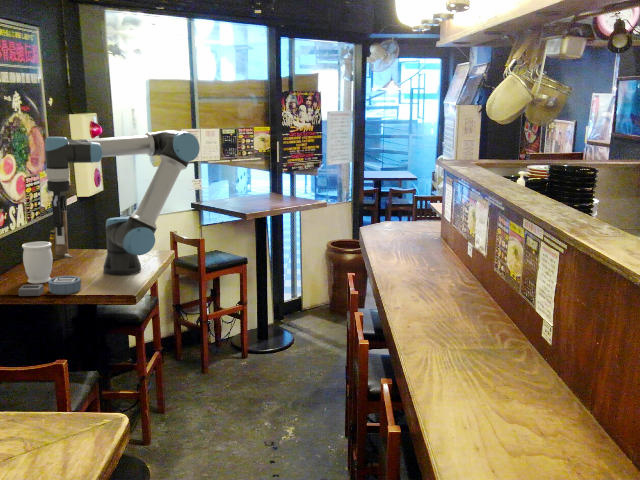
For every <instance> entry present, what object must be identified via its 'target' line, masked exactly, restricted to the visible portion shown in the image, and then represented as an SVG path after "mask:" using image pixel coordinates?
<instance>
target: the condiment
mask: <svg viewBox="0 0 640 480" xmlns="http://www.w3.org/2000/svg"><path fill="white" fill-rule="evenodd" d="M49 235H50V236H49V242H50V243H51V247H50V249H51V251H52V258H53V260H57V259H67V258H73V256H72V255H70V254H69V253H68V254H56V248H55V230H54V229H53V230H50V232H49Z"/></svg>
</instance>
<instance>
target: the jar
mask: <svg viewBox="0 0 640 480" xmlns="http://www.w3.org/2000/svg"><path fill="white" fill-rule="evenodd" d="M50 247H51V243H50V241H41V240H40V241H39V240H38V241H29V242H25V243H23V244H22V245H21V248H22V249H23V252H22V253H23V254H22V261H23V262H22V263H23V267H24V270H25V274H26V276H27V278H28V279H27V282H28V283H30V284H32V285H41V284H45V283H48V281H49V280H50V279H52V278H51V276H50V275H51V274H52V269H53V261H54V259H53V258H52V251H51V249H50Z"/></svg>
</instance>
